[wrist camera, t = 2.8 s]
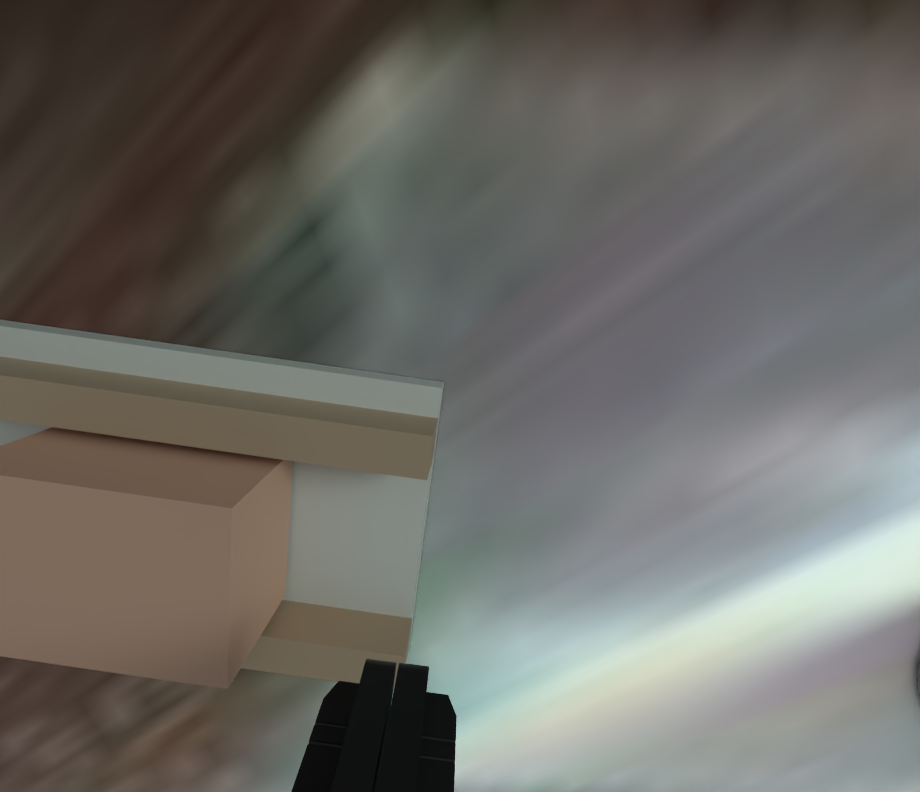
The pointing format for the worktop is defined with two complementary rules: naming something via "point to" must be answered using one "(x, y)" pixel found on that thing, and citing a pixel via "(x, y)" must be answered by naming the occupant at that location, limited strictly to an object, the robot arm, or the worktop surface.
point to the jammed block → (139, 554)
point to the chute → (273, 436)
